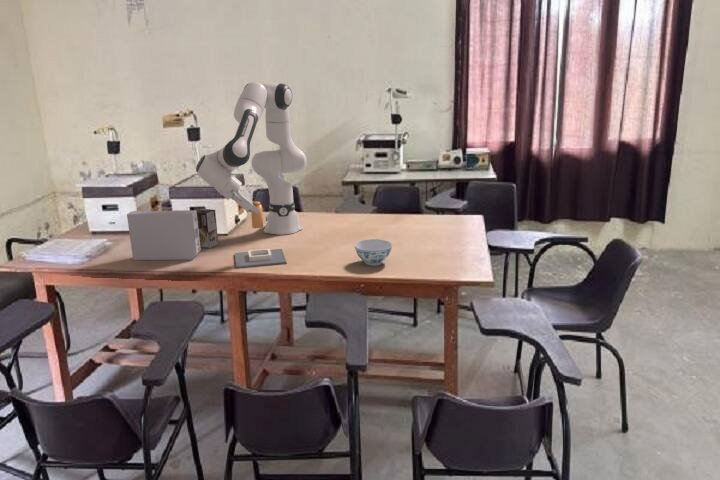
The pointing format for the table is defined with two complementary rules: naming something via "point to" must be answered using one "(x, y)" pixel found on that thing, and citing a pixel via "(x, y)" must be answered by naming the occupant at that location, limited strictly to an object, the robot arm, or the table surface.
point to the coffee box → (207, 227)
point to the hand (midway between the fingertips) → (258, 210)
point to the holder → (259, 258)
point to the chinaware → (373, 250)
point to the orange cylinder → (257, 216)
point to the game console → (164, 234)
